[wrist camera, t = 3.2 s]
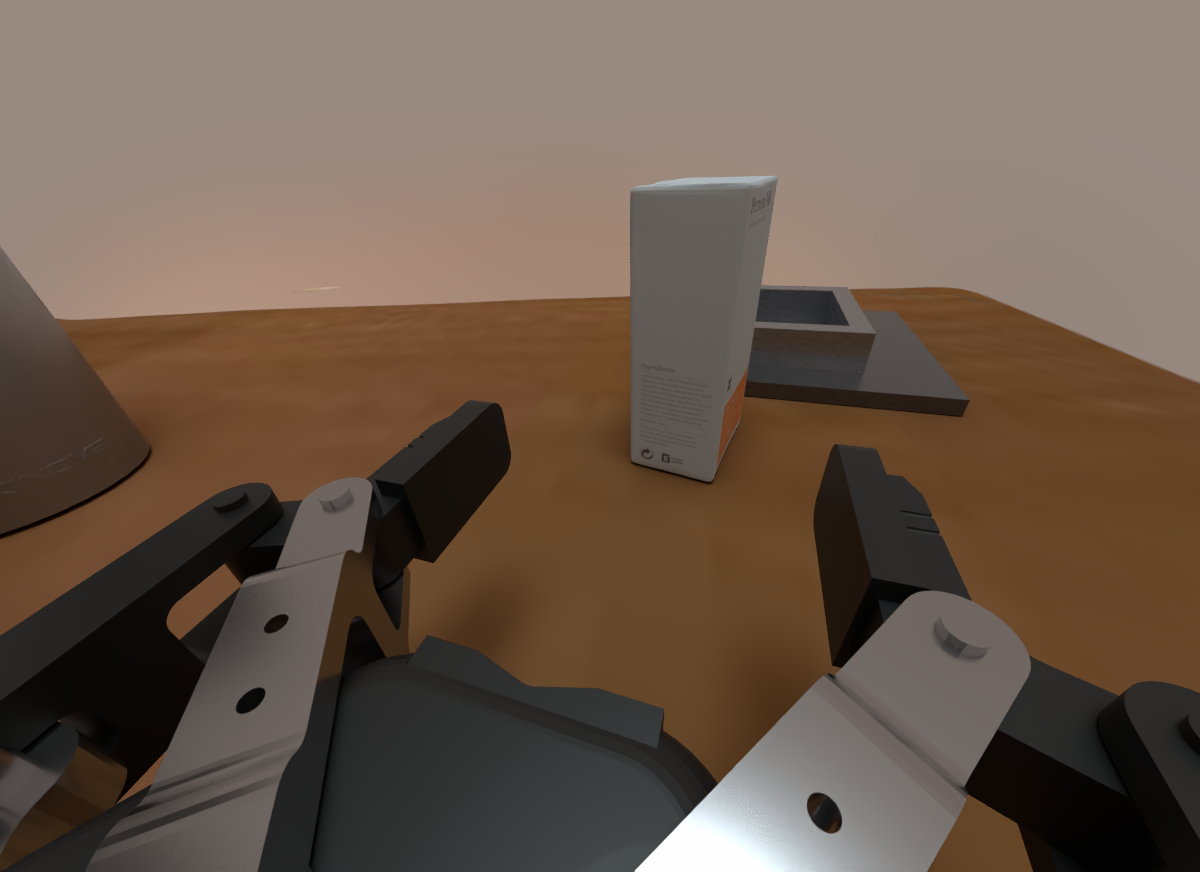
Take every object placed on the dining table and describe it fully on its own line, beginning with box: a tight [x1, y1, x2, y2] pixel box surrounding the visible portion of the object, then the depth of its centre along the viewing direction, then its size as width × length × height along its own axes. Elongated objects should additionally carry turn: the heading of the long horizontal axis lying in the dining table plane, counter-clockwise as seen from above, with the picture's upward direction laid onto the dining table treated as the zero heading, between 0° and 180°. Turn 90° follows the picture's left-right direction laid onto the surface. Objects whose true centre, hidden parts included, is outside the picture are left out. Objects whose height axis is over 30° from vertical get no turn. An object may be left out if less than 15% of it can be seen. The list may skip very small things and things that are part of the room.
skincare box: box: [630, 176, 777, 482], centre depth 19 cm, size 6×4×12 cm
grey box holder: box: [744, 285, 970, 416], centre depth 31 cm, size 18×16×4 cm
